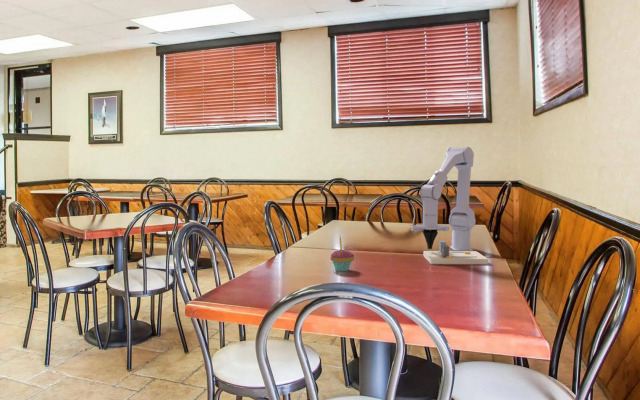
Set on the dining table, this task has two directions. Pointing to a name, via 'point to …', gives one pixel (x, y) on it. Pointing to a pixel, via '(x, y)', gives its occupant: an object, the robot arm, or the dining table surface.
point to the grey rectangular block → (441, 245)
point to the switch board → (455, 257)
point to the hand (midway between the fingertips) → (429, 248)
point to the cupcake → (342, 259)
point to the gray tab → (445, 250)
